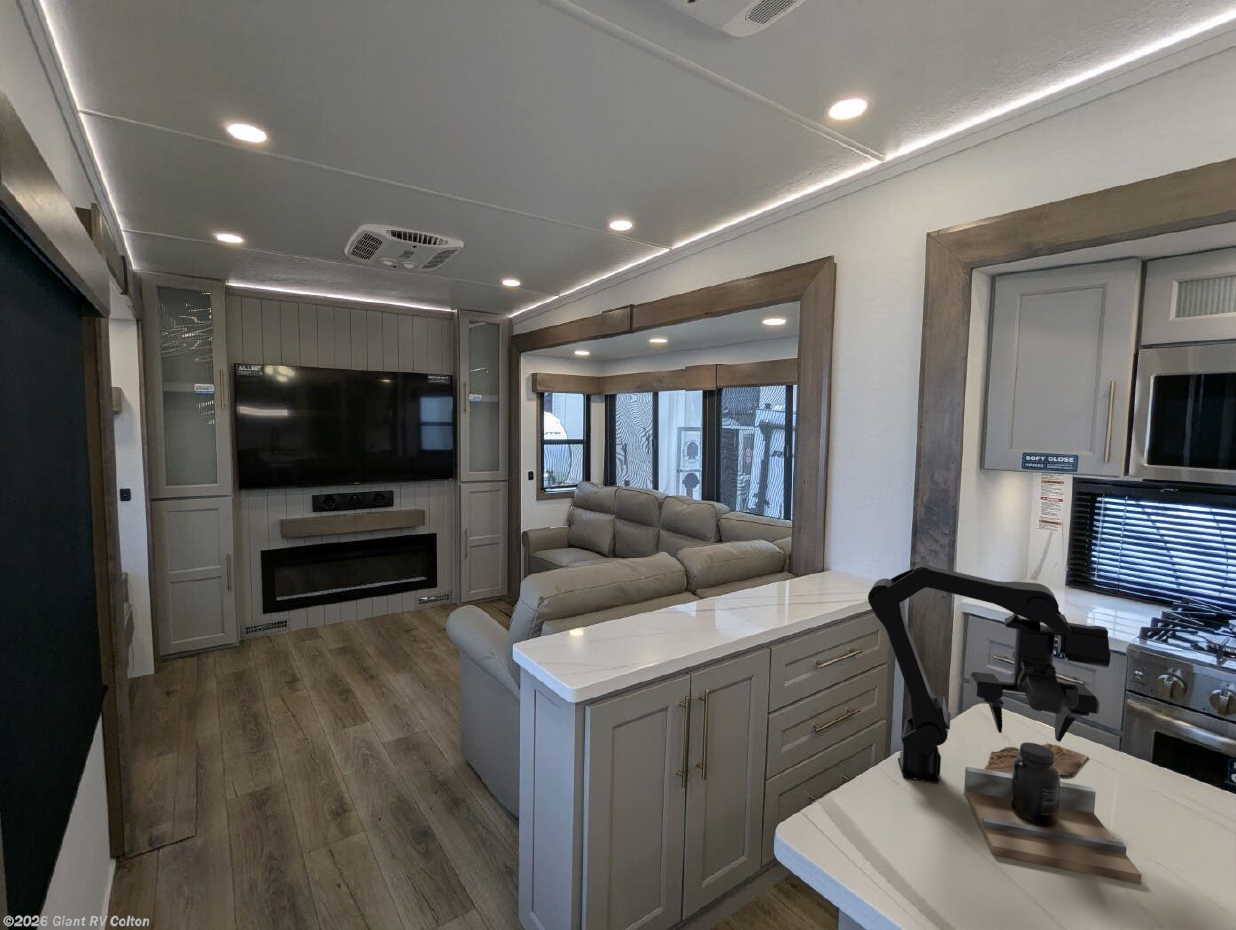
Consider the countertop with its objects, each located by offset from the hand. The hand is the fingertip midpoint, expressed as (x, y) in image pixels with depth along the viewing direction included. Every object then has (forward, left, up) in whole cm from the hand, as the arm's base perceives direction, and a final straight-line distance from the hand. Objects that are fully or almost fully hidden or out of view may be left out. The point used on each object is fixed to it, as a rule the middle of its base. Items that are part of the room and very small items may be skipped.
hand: (1028, 736), depth 106 cm
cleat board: (0, -9, -13) cm, 16 cm away
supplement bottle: (0, -6, -12) cm, 13 cm away
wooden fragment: (+7, +15, -14) cm, 22 cm away
